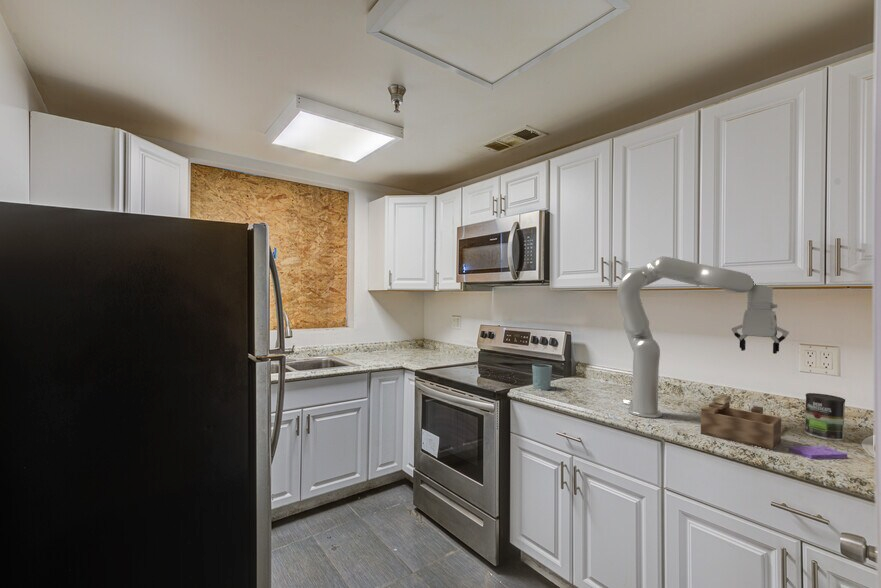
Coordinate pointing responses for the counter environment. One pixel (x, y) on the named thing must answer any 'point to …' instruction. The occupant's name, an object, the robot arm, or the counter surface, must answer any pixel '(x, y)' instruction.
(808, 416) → the coffee can
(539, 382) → the drinking glass
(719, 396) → the light brown wooden block
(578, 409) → the counter surface
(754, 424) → the toolbox
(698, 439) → the counter surface
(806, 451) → the sponges
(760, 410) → the lid
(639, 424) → the counter surface
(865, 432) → the counter surface
